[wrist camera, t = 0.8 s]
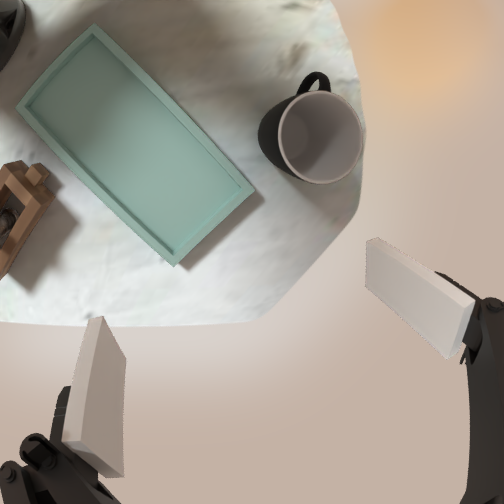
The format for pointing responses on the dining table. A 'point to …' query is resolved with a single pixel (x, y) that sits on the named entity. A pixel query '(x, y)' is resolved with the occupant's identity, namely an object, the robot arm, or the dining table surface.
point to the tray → (133, 145)
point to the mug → (312, 134)
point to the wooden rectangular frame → (31, 195)
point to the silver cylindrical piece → (8, 221)
